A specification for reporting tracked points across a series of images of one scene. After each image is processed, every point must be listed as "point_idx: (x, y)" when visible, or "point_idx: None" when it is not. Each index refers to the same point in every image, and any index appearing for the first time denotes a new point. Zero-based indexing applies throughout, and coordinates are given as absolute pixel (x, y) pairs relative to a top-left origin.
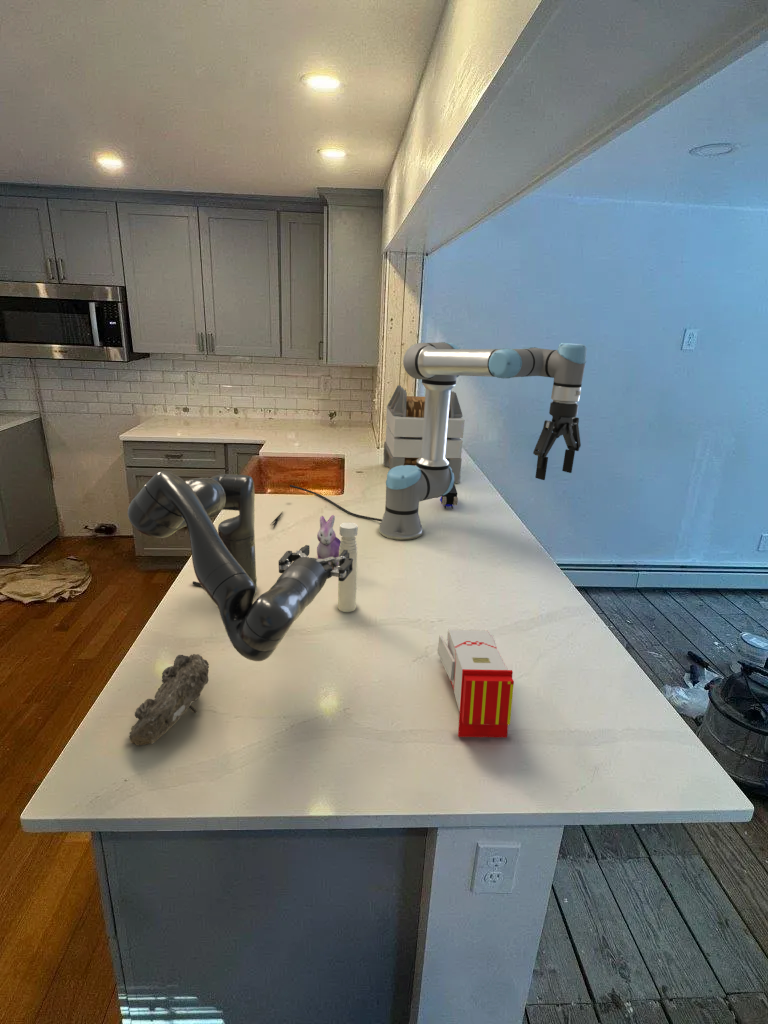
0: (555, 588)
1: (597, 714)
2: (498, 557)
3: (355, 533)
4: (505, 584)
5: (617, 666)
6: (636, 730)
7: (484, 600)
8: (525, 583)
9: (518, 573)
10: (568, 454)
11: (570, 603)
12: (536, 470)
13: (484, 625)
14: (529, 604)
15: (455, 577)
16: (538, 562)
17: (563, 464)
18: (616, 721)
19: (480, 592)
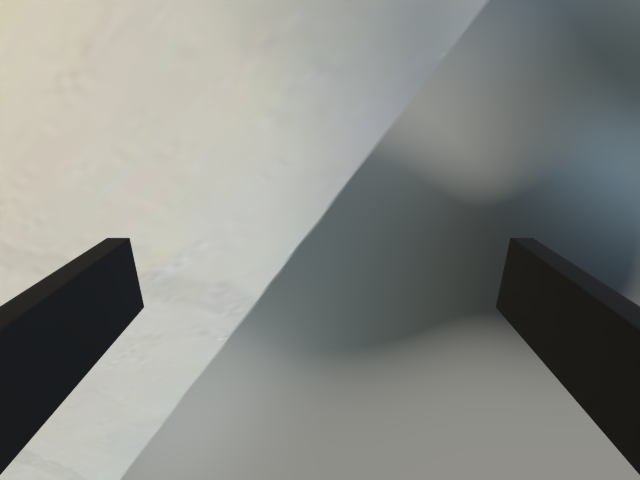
0: (279, 227)
1: (39, 438)
2: (306, 6)
3: None
4: (189, 143)
5: (148, 411)
6: (62, 468)
7: (86, 166)
8: (238, 170)
9: (268, 122)
10: (625, 382)
11: (249, 281)
12: (64, 267)
13: (21, 233)
14: (168, 236)
15: (90, 25)
16: (375, 111)
17: (544, 266)
18: (52, 452)
19: (102, 133)
